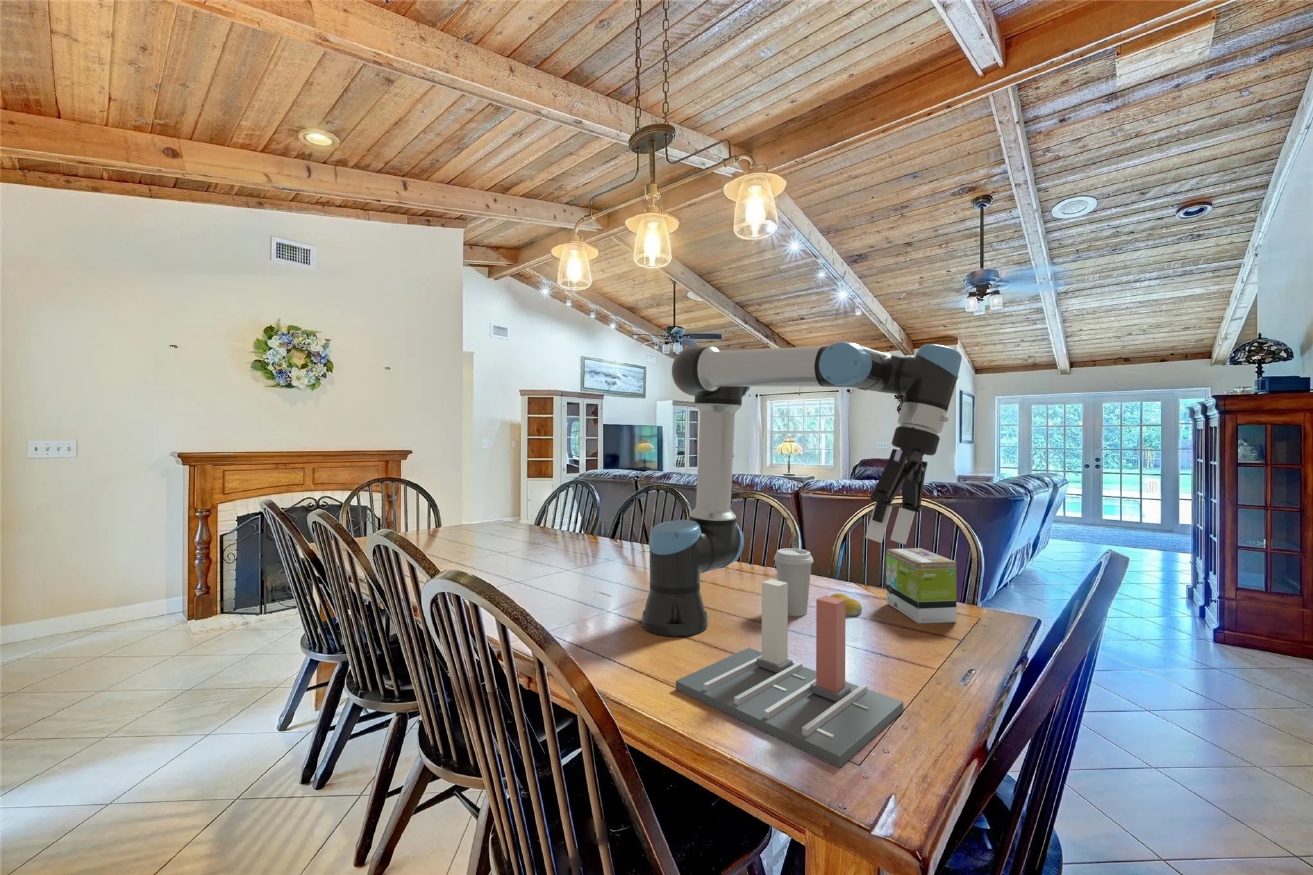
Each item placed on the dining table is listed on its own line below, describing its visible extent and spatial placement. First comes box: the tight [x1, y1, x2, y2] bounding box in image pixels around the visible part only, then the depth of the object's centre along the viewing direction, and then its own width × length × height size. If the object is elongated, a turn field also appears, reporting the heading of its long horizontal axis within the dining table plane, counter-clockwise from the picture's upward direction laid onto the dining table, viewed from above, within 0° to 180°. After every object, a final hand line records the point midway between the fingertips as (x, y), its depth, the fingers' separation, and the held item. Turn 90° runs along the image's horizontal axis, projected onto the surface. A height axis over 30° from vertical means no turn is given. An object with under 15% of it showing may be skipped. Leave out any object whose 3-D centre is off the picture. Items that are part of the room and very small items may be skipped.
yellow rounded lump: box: [829, 593, 863, 617], centre depth 133 cm, size 8×9×4 cm
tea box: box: [885, 547, 958, 625], centre depth 132 cm, size 15×10×15 cm, turn 5°
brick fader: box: [810, 595, 851, 702], centre depth 87 cm, size 5×4×15 cm
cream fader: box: [757, 578, 794, 673], centre depth 97 cm, size 5×4×15 cm
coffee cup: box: [773, 548, 814, 617], centre depth 132 cm, size 10×10×15 cm
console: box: [675, 647, 904, 769], centre depth 88 cm, size 30×21×2 cm
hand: (886, 541), depth 98 cm, fingers open, 13 cm apart
